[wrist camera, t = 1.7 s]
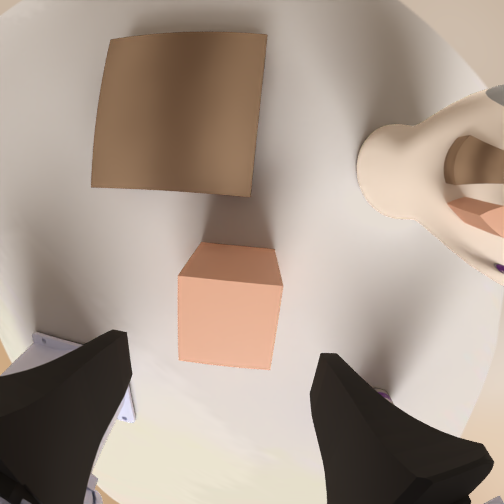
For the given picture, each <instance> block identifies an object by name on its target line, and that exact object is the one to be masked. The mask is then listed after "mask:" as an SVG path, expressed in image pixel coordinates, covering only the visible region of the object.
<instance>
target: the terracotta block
mask: <svg viewBox="0 0 504 504" xmlns="http://www.w3.org/2000/svg"><path fill="white" fill-rule="evenodd" d="M282 291H283V283H282V279H281V275H280V270H279V266H278V262H277V257H276V253H275V249H268V248H257V247H247V246H237V245H226V244H216V243H205V242H201V243H200V245H199V246H198V248H197V249H196V250H195V252H194V253H193V255H192V256H191V257H190V259H189V260H188V262H187V263H186V265H185V266H184V268H183V269H182V270H181V272H180V273H179V275H178V353H179V360H180V361H187V362H195V363H202V364H210V365H219V366H229V367H239V368H250V369H264V370H270V367H271V361H272V355H273V349H274V343H275V337H276V330H277V324H278V317H279V311H280V304H281V297H282Z"/></svg>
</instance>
